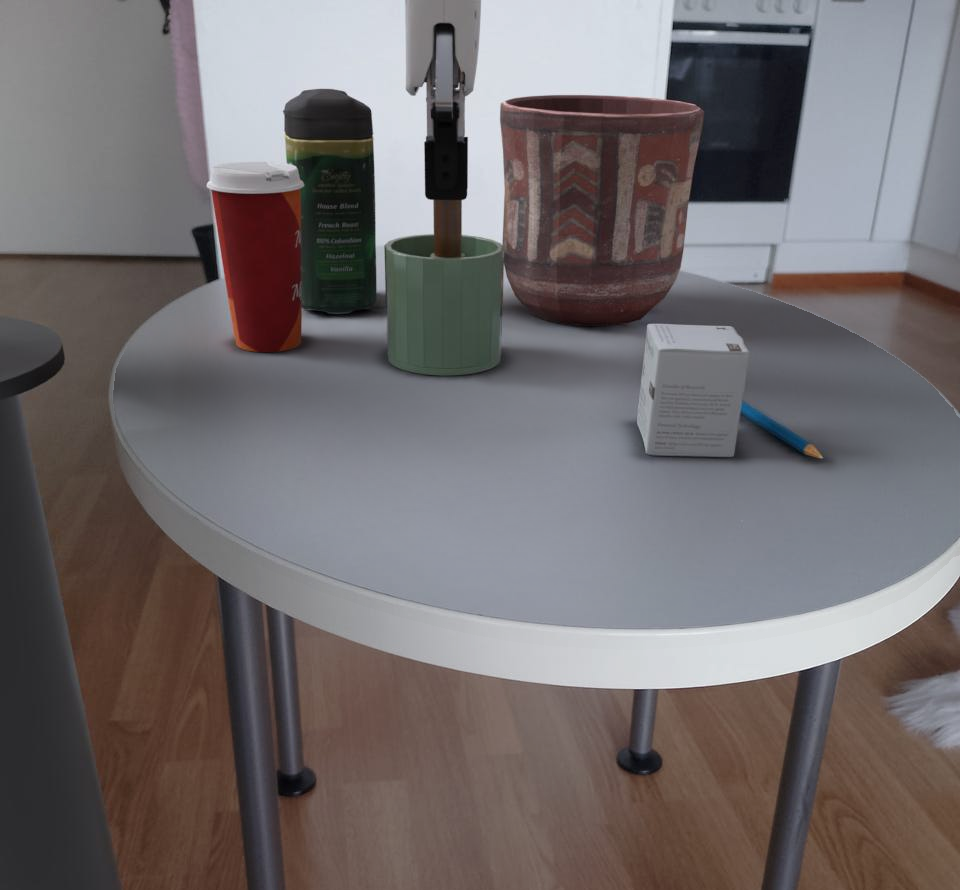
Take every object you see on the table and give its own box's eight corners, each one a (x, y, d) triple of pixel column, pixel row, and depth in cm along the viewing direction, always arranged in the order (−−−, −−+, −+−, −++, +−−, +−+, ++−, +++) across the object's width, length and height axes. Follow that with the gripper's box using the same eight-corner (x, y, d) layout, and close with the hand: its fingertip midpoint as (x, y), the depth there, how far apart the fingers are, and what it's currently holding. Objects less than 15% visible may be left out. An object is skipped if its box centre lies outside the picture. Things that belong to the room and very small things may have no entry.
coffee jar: (383, 315, 102) (378, 94, 92) (298, 318, 100) (283, 94, 91) (371, 290, 110) (365, 84, 100) (292, 292, 108) (278, 84, 99)
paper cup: (331, 344, 93) (322, 169, 86) (255, 361, 89) (239, 178, 82) (279, 325, 98) (267, 157, 91) (205, 340, 94) (185, 165, 86)
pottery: (509, 338, 96) (517, 113, 87) (483, 289, 111) (487, 93, 101) (703, 335, 98) (731, 115, 89) (652, 288, 113) (671, 94, 104)
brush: (432, 329, 86) (430, 121, 78) (406, 313, 90) (401, 113, 82) (490, 322, 88) (494, 118, 80) (462, 307, 92) (462, 111, 84)
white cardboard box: (635, 425, 78) (645, 321, 74) (719, 426, 78) (734, 323, 74) (645, 457, 73) (657, 347, 69) (736, 458, 73) (752, 349, 69)
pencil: (702, 383, 86) (703, 374, 85) (827, 462, 72) (829, 453, 72) (693, 384, 86) (694, 375, 85) (817, 464, 72) (819, 454, 72)
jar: (415, 381, 85) (414, 263, 81) (370, 349, 92) (366, 239, 88) (520, 367, 89) (525, 253, 84) (469, 337, 96) (470, 230, 92)
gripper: (398, -86, 81) (404, 178, 91) (381, -98, 68) (391, 214, 77) (498, -84, 81) (493, 179, 91) (502, -96, 68) (496, 216, 77)
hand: (446, 193), depth 84 cm, fingers closed on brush
